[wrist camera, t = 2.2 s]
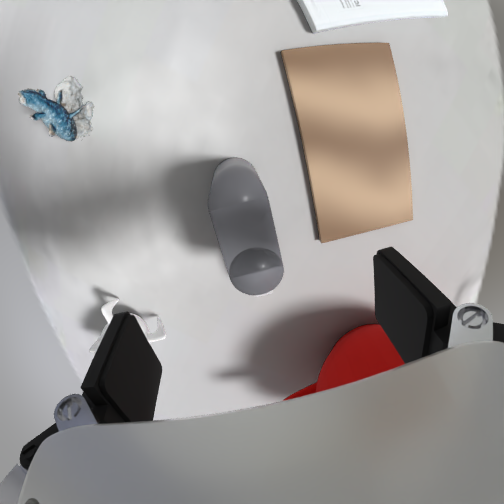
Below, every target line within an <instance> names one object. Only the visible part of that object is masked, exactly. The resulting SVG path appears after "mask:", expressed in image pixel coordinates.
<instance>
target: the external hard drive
mask: <svg viewBox="0 0 504 504" xmlns="http://www.w3.org/2000/svg"><path fill="white" fill-rule="evenodd" d="M297 1H298V3H299V5H300V7H301V9H302V11H303V14H304V16H305V18H306V20H307V22H308V24H309V26H310V28H311V30H312V33H313V34H315V33H319V32H323V31H328V30H333V29H338V28H343V27H349V26H354V25H361V24H367V23H375V22H382V21H391V20H401V19H414V18H435V17H445V16H448V11H447V8H446V6H445V4H444V1H443V0H297Z"/></svg>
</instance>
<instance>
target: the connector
mask: <svg viewBox="0 0 504 504" xmlns="http://www.w3.org/2000/svg"><path fill="white" fill-rule="evenodd" d="M208 208H209V212H210V216H211V219H212V222H213V226H214V229H215V232H216V235H217V239H218V242H219V245H220V248H221V252H222V255H223V258H224V261H225V264H226V268H227V271H228V274H229V277H230V280H231V282H232V284H233V285H234V287H235V288H236V289H238V290H239V291H241V292H242V293H245V294H248V295H255V297H259V296H263V295H267V294H271V293H273V292H272V290H273V289H274V288H275V287H277V285H278V284H279V283H280V281H281V279H282V277H283V272H284V268H283V263H282V258H281V253H280V249H279V244H278V240H277V235H276V231H275V226H274V222H273V217H272V213H271V208H270V204H269V200H268V196H267V193H266V190H265V188H264V186H263V184H262V182H261V180H260V178H259V176H258V174H257V172H256V170H255V168H254V167H253V166H252V164H251V163H249V162H248V161H246V160H244V159H242V158H230V159H227V160H225V161H223V162H222V163H220V164H219V166H218V167H217V168H216V170H215V172H214V176H213V181H212V185H211V189H210V194H209V199H208Z"/></svg>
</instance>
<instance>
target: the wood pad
mask: <svg viewBox="0 0 504 504" xmlns="http://www.w3.org/2000/svg"><path fill="white" fill-rule="evenodd" d="M281 55H282V59H283V63H284V67H285V71H286V75H287V79H288V83H289V87H290V91H291V95H292V99H293V104H294V108H295V112H296V117H297V121H298V126H299V131H300V135H301V140H302V145H303V150H304V155H305V160H306V165H307V170H308V175H309V181H310V186H311V191H312V197H313V203H314V209H315V215H316V221H317V227H318V233H319V240H320V241H321V243H325V242H329V241H333V240H337V239H341V238H345V237H348V236H352V235H356V234H360V233H364V232H368V231H372V230H376V229H380V228H384V227H388V226H391V225H395V224H399V223H403V222H407V221H411V220H413V210H412V188H411V173H410V161H409V151H408V142H407V134H406V127H405V120H404V113H403V107H402V101H401V95H400V90H399V85H398V80H397V75H396V70H395V66H394V61H393V57H392V53H391V49H390V45H389V43H354V44H336V45H323V46H313V47H304V48H296V49H289V50H282V51H281Z"/></svg>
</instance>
